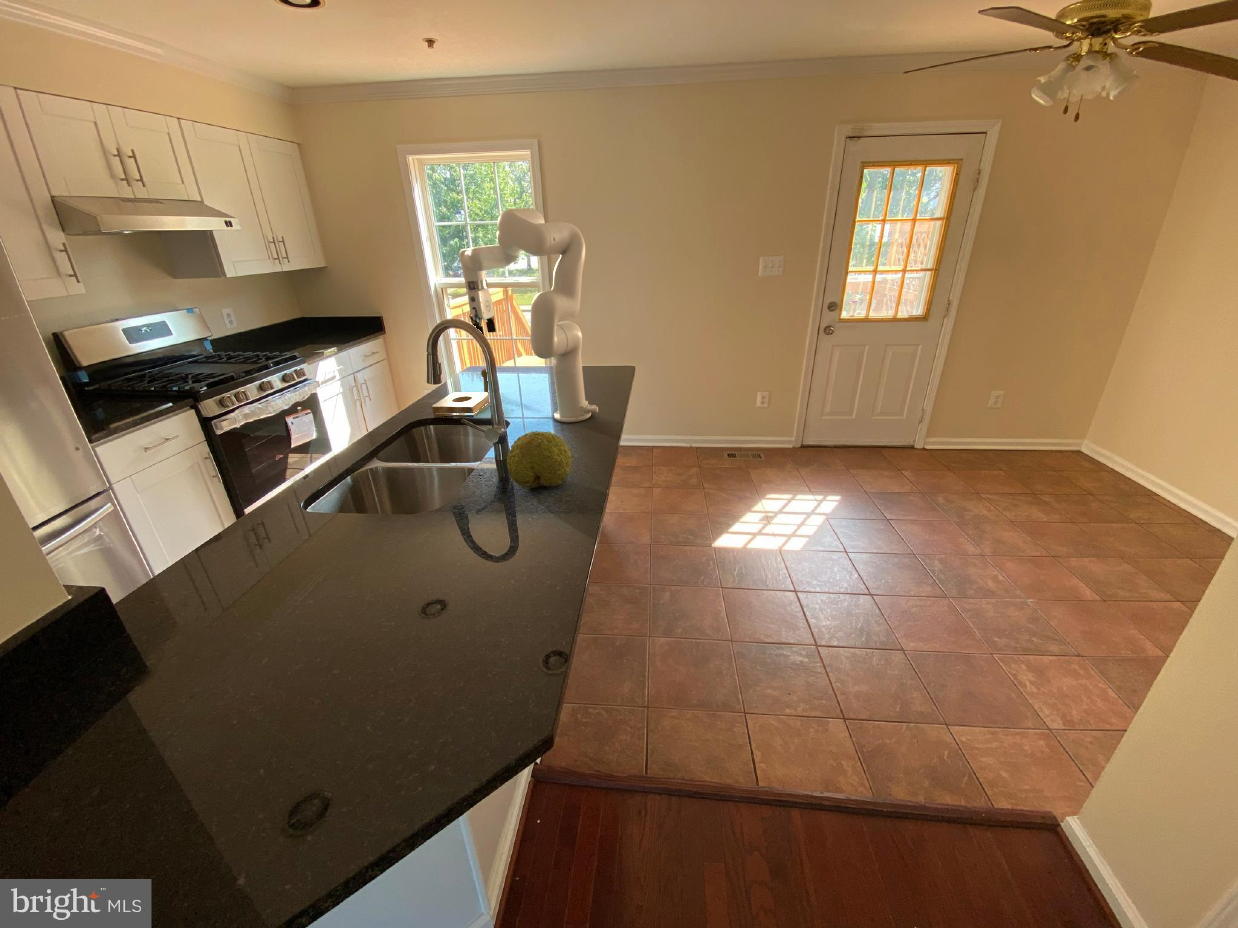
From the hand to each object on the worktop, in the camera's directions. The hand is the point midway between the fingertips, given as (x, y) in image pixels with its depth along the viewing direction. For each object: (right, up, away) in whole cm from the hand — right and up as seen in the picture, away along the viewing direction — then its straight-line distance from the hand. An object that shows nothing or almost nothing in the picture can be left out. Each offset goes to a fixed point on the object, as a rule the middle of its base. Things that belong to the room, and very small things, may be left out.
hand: (486, 334), depth 183 cm
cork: (-2, -21, +15) cm, 26 cm away
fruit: (+29, -53, -56) cm, 82 cm away
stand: (-9, -27, +2) cm, 29 cm away
